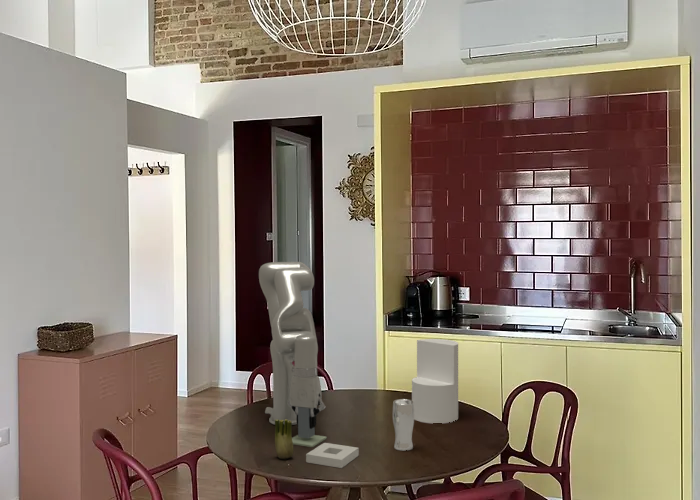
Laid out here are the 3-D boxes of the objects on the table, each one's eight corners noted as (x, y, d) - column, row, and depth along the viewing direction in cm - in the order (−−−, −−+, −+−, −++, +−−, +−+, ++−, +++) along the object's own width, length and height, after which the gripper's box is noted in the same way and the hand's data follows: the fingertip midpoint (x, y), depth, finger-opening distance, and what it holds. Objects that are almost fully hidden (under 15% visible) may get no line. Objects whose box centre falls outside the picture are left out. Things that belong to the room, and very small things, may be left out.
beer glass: (400, 452, 212) (400, 405, 212) (388, 446, 218) (388, 400, 218) (418, 449, 215) (418, 402, 215) (406, 443, 222) (406, 397, 221)
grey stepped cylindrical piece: (431, 408, 264) (430, 337, 263) (467, 416, 252) (467, 342, 251) (402, 417, 252) (402, 342, 251) (439, 426, 240) (439, 348, 239)
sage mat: (285, 443, 222) (285, 441, 222) (300, 434, 231) (300, 433, 231) (312, 447, 218) (312, 445, 218) (326, 438, 227) (326, 436, 227)
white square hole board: (306, 462, 204) (306, 454, 204) (324, 450, 215) (324, 442, 215) (341, 468, 199) (341, 459, 199) (358, 455, 209) (358, 447, 209)
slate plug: (298, 436, 223) (298, 407, 223) (304, 433, 227) (303, 404, 227) (308, 438, 222) (308, 408, 221) (314, 435, 225) (314, 405, 225)
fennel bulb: (272, 457, 209) (272, 418, 208) (286, 453, 212) (285, 416, 211) (282, 462, 204) (282, 423, 204) (296, 458, 207) (296, 420, 207)
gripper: (278, 372, 224) (279, 426, 224) (322, 376, 217) (323, 433, 217) (290, 368, 231) (290, 421, 231) (333, 372, 223) (333, 426, 224)
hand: (306, 426), depth 224 cm, fingers closed on slate plug, 4 cm apart
